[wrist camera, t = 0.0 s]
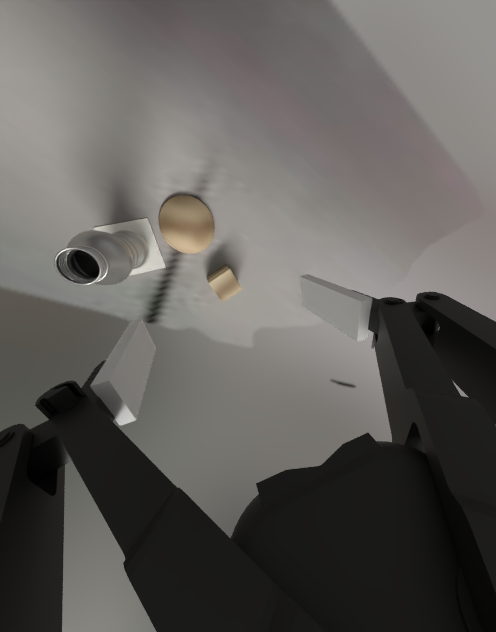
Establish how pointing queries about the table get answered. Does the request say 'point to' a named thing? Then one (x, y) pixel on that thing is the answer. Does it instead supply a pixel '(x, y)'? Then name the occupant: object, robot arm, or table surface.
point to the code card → (146, 233)
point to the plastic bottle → (101, 257)
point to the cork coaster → (186, 224)
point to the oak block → (224, 283)
